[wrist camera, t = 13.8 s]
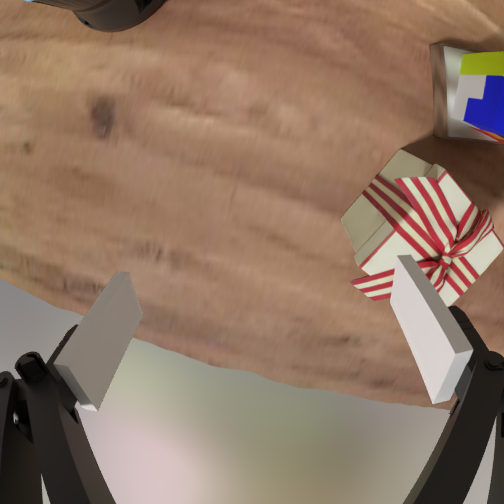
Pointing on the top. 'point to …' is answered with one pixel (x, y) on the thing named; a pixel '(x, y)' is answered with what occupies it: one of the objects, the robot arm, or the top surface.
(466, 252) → the gift box
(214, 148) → the top surface
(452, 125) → the stand
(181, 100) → the top surface
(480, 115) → the puzzle toy
